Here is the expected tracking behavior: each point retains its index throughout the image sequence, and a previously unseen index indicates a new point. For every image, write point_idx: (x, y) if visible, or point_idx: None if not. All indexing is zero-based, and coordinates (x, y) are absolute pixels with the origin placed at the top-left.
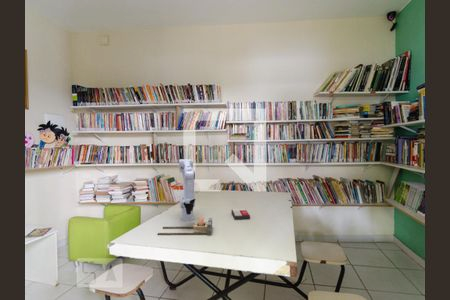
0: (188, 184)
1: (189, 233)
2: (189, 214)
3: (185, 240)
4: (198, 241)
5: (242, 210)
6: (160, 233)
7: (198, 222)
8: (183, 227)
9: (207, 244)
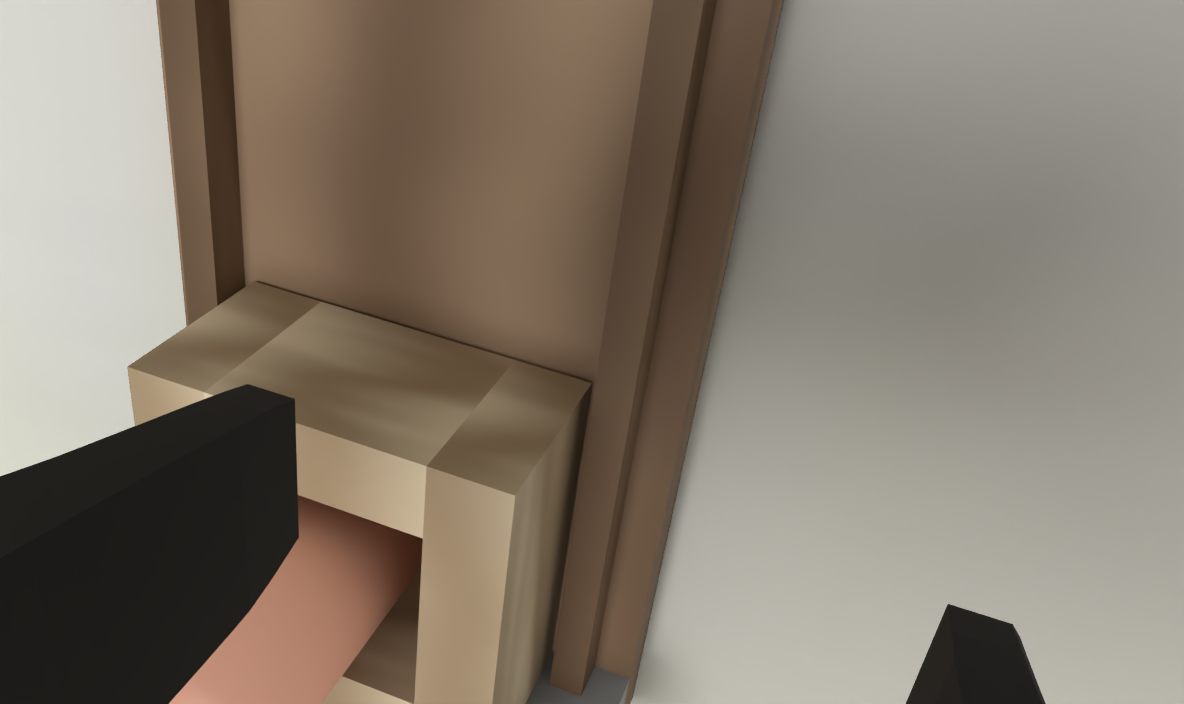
0: None
1: (177, 196)
2: None
3: (89, 60)
4: (84, 320)
5: None
6: None
7: (480, 565)
8: (649, 32)
9: (8, 436)
